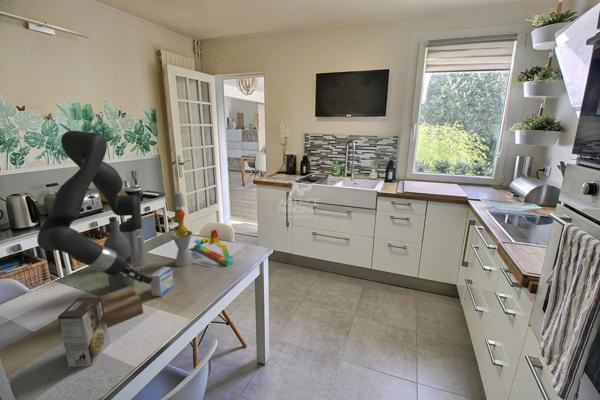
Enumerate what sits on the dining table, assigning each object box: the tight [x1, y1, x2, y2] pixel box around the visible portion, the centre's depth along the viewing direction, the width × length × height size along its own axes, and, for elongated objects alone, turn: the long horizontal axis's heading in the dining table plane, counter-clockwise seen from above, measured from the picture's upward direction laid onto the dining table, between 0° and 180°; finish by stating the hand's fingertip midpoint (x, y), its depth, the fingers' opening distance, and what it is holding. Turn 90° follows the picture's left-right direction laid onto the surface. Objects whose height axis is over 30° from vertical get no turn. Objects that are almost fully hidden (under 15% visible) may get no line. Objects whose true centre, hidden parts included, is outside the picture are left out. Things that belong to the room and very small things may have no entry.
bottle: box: [103, 216, 136, 292], centre depth 114 cm, size 9×9×30 cm
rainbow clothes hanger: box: [193, 229, 234, 267], centre depth 146 cm, size 30×3×15 cm, turn 50°
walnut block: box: [98, 286, 144, 329], centre depth 101 cm, size 12×12×6 cm
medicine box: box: [148, 266, 175, 297], centre depth 115 cm, size 8×4×9 cm, turn 168°
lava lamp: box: [171, 191, 195, 268], centre depth 135 cm, size 9×9×35 cm
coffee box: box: [57, 296, 110, 368], centre depth 81 cm, size 9×6×16 cm
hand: (145, 277), depth 109 cm, fingers open, 8 cm apart
